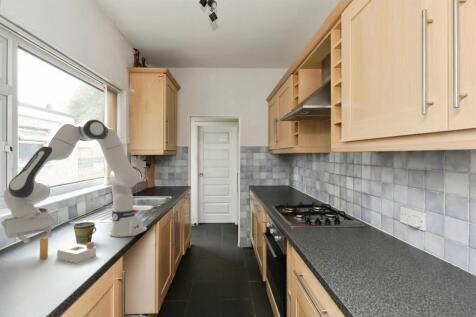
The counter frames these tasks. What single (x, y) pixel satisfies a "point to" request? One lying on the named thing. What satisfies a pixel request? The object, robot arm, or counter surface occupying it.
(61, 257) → the housing
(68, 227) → the counter surface
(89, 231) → the ceramic cup
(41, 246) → the pin
